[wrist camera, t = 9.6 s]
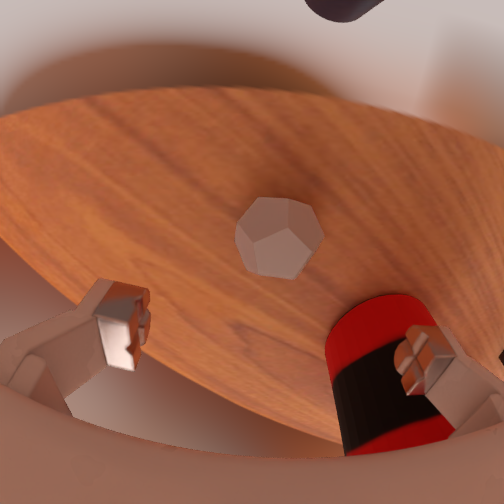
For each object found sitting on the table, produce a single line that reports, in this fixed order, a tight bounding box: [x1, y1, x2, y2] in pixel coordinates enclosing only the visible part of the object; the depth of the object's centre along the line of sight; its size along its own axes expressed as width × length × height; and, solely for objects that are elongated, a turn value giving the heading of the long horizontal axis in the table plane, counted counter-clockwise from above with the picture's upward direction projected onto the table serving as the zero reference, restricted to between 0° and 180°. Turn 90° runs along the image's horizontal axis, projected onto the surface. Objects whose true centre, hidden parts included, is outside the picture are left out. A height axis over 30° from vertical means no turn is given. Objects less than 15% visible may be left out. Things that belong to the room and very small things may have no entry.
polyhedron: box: [234, 197, 325, 280], centre depth 13 cm, size 4×4×3 cm
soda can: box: [325, 294, 456, 456], centre depth 13 cm, size 8×8×12 cm
